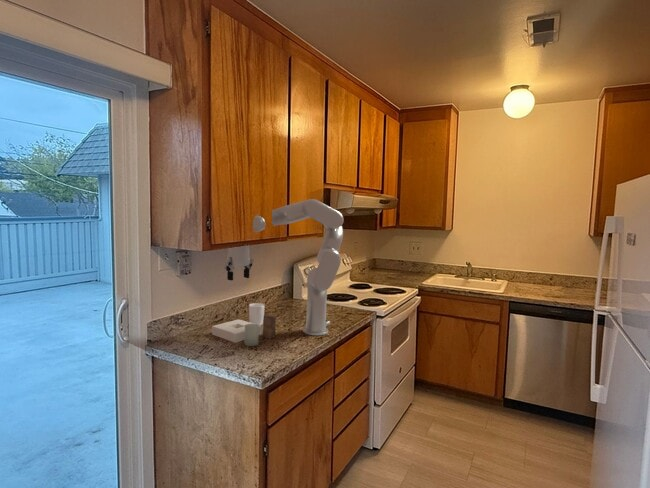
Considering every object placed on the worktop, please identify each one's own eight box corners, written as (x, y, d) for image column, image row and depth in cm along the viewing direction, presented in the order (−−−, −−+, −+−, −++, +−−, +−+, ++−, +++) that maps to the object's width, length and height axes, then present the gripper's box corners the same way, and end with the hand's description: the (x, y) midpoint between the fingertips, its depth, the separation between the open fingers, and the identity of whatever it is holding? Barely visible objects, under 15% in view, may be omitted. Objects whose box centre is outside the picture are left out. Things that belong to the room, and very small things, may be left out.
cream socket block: (238, 327, 192) (238, 319, 192) (261, 334, 183) (261, 326, 183) (212, 334, 180) (212, 326, 179) (235, 342, 170) (235, 333, 170)
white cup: (251, 326, 194) (252, 307, 193) (246, 322, 201) (246, 303, 200) (266, 325, 198) (267, 305, 197) (260, 321, 205) (261, 302, 204)
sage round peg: (251, 340, 174) (252, 323, 173) (261, 343, 171) (261, 325, 170) (241, 343, 169) (241, 325, 169) (250, 347, 166) (251, 328, 165)
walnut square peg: (269, 334, 183) (269, 314, 182) (275, 336, 181) (275, 315, 180) (262, 336, 180) (263, 315, 179) (269, 338, 177) (269, 317, 177)
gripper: (248, 240, 187) (247, 275, 188) (218, 242, 173) (218, 279, 174) (259, 242, 182) (257, 277, 184) (230, 243, 169) (229, 282, 170)
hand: (238, 278), depth 179 cm, fingers open, 9 cm apart
